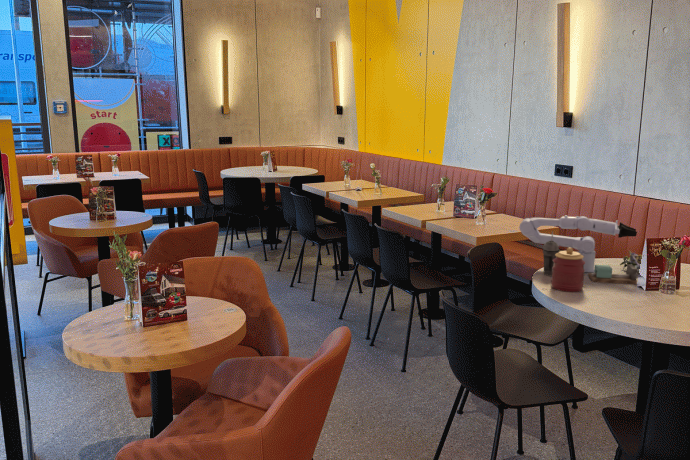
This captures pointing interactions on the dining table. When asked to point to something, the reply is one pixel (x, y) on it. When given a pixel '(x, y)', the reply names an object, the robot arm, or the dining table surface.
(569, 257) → the canister
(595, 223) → the robot arm
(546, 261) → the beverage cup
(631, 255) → the passion flower
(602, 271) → the keeper
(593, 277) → the rail board
